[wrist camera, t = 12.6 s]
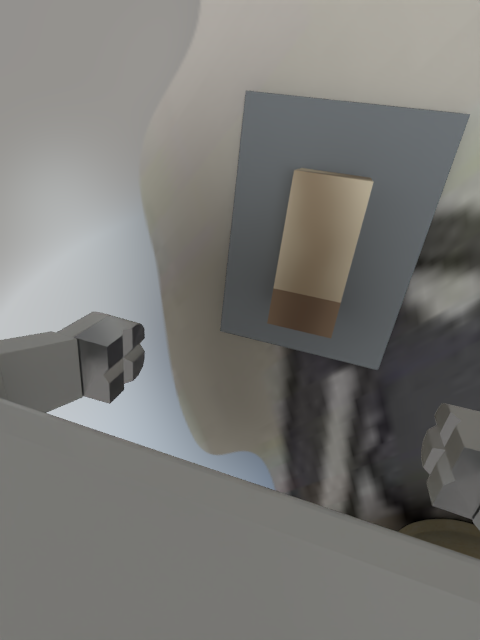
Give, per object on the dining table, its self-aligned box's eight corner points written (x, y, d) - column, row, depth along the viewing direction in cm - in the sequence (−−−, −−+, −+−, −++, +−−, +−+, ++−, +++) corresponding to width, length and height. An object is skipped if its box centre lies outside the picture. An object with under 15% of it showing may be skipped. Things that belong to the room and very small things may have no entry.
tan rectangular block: (370, 177, 21) (374, 181, 17) (333, 315, 25) (331, 338, 22) (302, 167, 21) (293, 170, 18) (277, 303, 25) (267, 323, 22)
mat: (377, 365, 26) (377, 370, 25) (222, 327, 28) (220, 330, 28) (466, 115, 19) (470, 114, 18) (248, 92, 21) (246, 90, 20)
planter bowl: (355, 590, 37) (356, 740, 28) (351, 476, 31) (351, 619, 21) (541, 629, 32) (620, 827, 23) (581, 502, 26) (713, 702, 16)
